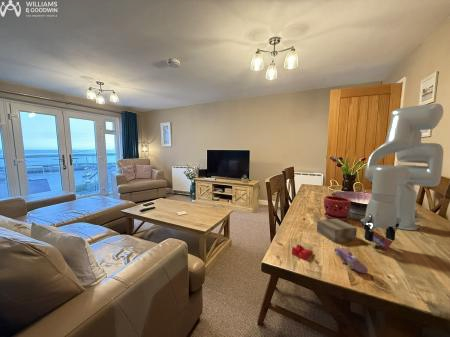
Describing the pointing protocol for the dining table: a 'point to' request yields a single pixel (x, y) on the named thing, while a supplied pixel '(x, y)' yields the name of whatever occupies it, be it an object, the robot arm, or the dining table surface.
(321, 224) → the walnut block
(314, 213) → the dining table surface
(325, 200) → the plant pot
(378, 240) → the geometric puzzle
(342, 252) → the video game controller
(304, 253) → the bracket
